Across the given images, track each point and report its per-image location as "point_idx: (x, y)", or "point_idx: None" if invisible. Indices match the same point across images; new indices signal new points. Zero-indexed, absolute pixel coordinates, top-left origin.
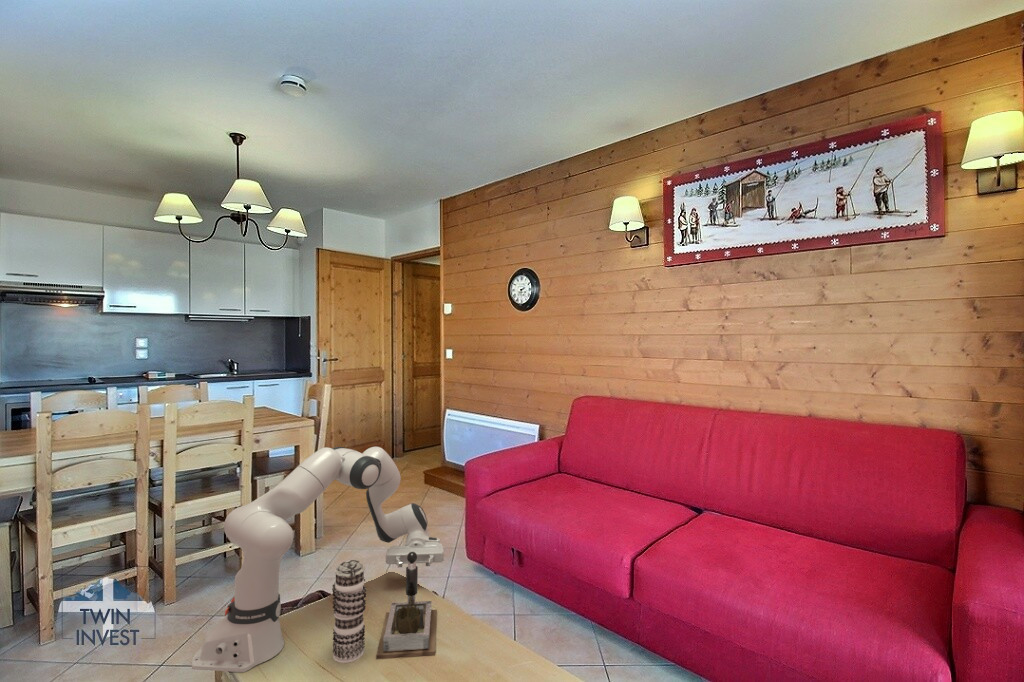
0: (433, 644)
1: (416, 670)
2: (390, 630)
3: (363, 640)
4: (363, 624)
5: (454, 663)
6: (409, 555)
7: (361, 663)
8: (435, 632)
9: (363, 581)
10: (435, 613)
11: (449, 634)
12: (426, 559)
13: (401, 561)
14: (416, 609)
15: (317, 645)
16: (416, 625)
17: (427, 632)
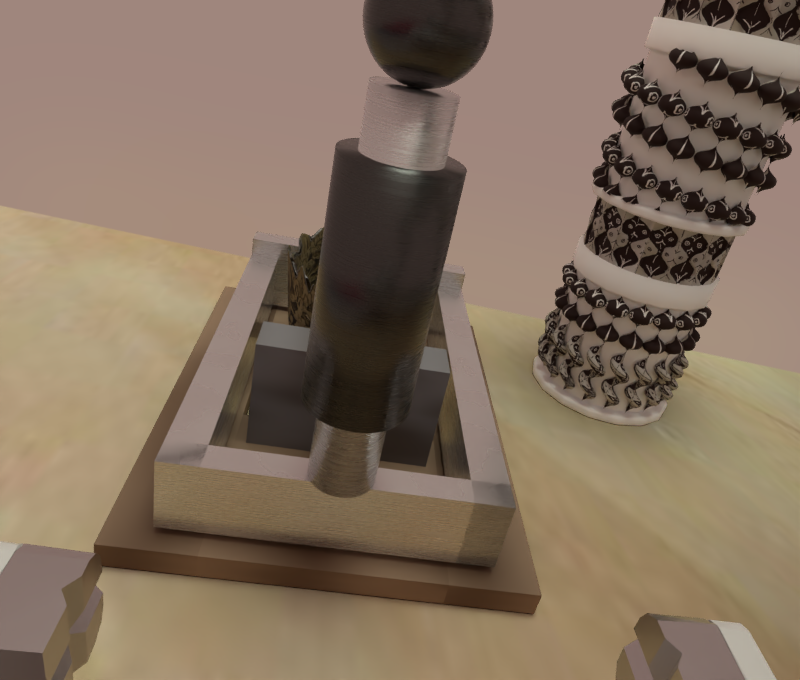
0: (222, 310)
1: None
2: (443, 313)
3: (550, 319)
4: (576, 257)
5: (156, 262)
6: None
7: (518, 338)
8: (190, 358)
9: (655, 22)
10: (127, 501)
11: (104, 367)
12: (33, 643)
13: (689, 657)
14: (314, 290)
15: (775, 451)
16: (311, 281)
17: (261, 239)
